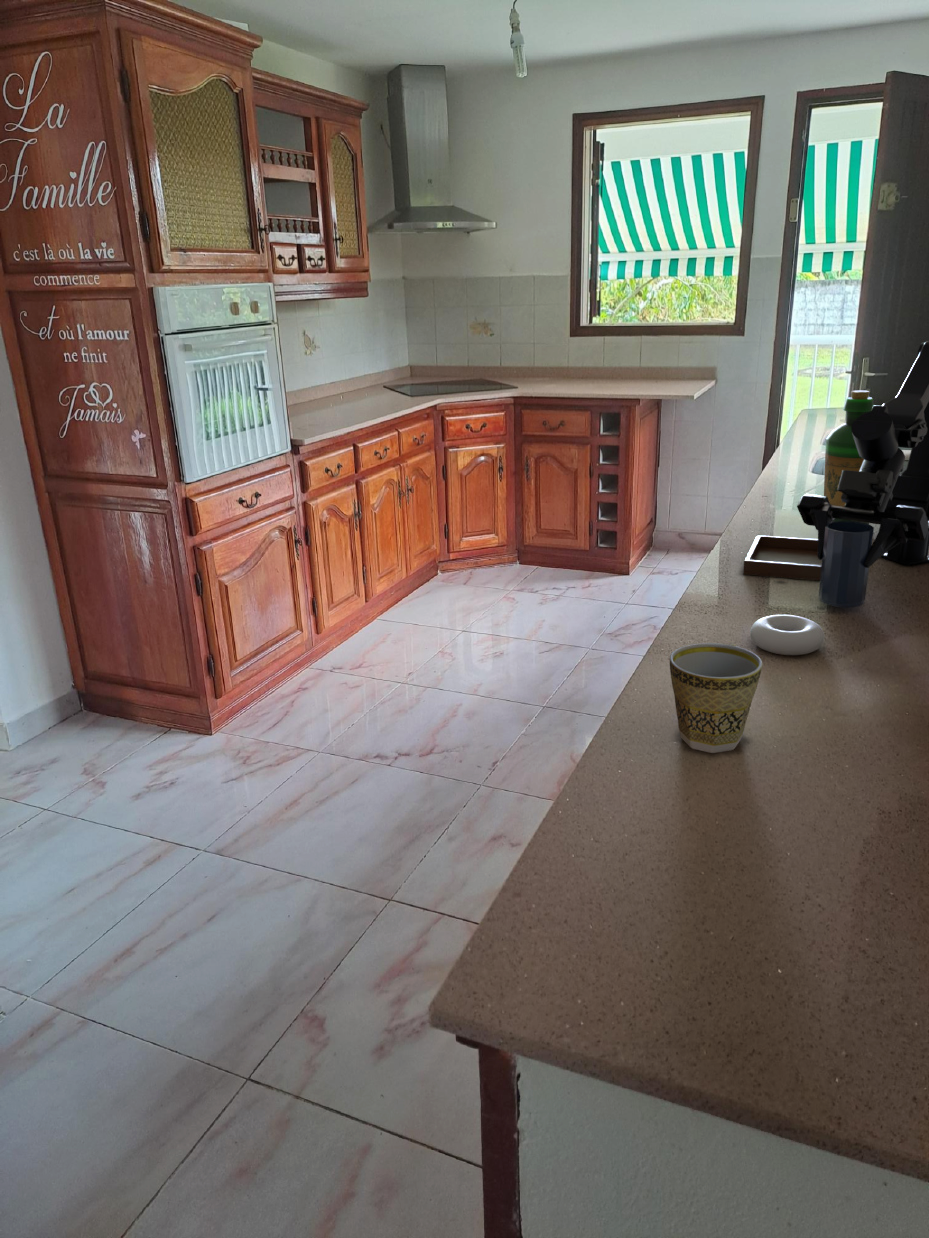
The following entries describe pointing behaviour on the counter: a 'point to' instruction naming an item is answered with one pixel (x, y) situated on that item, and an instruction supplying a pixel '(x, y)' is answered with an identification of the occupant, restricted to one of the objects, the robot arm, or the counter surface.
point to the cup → (845, 563)
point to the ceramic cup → (713, 693)
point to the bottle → (844, 448)
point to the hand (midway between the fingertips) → (842, 562)
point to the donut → (787, 634)
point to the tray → (783, 558)
